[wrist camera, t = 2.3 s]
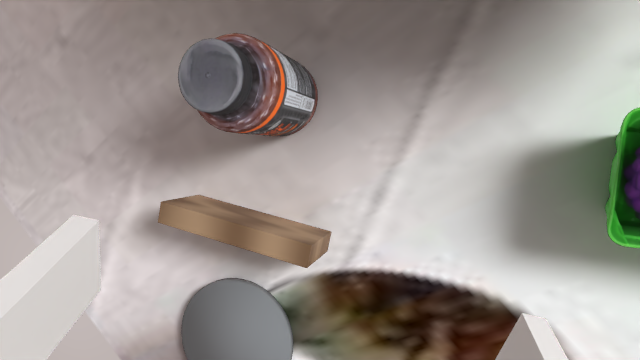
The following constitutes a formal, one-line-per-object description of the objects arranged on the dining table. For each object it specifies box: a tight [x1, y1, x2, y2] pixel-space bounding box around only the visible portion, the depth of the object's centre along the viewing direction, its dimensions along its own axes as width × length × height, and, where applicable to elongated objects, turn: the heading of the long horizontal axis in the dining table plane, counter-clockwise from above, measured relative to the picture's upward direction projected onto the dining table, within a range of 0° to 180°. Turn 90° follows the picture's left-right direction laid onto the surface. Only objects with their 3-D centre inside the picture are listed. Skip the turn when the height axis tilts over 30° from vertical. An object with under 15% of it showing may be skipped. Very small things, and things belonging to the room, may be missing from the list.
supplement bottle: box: [178, 33, 318, 136], centre depth 29 cm, size 6×6×11 cm
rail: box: [158, 195, 331, 268], centre depth 33 cm, size 12×2×5 cm, turn 77°
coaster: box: [181, 278, 293, 360], centre depth 36 cm, size 10×10×1 cm
